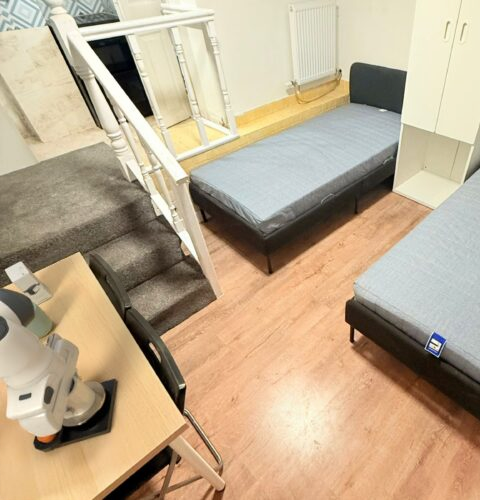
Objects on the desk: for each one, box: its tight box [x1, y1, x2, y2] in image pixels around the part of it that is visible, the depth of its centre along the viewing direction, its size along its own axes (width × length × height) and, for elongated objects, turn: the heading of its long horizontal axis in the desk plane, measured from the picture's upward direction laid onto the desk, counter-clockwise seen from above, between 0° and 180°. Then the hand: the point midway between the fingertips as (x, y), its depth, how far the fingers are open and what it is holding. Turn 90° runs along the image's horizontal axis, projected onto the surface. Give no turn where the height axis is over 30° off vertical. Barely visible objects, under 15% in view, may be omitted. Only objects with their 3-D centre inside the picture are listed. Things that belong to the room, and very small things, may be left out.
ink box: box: [4, 260, 53, 306], centre depth 106 cm, size 8×5×12 cm, turn 49°
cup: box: [26, 301, 53, 339], centre depth 97 cm, size 8×8×10 cm
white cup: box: [66, 375, 95, 416], centre depth 78 cm, size 6×6×8 cm
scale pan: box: [62, 380, 105, 427], centre depth 81 cm, size 11×11×1 cm
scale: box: [32, 378, 119, 453], centre depth 81 cm, size 15×14×4 cm
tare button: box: [37, 433, 56, 443], centre depth 76 cm, size 3×3×2 cm
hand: (74, 397), depth 79 cm, fingers closed on white cup, 6 cm apart
